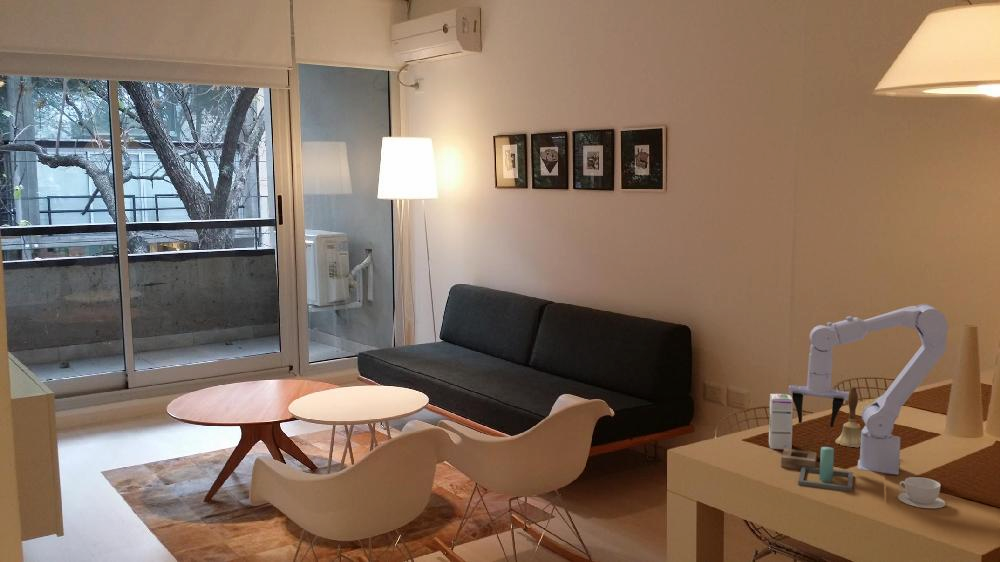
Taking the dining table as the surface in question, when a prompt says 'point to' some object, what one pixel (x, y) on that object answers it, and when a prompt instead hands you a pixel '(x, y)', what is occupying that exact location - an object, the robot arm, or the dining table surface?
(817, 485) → the tray
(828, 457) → the dowel
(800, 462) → the block
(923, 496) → the teacup
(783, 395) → the syrup box
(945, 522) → the dining table surface
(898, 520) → the dining table surface
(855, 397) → the hand bell
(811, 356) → the robot arm
